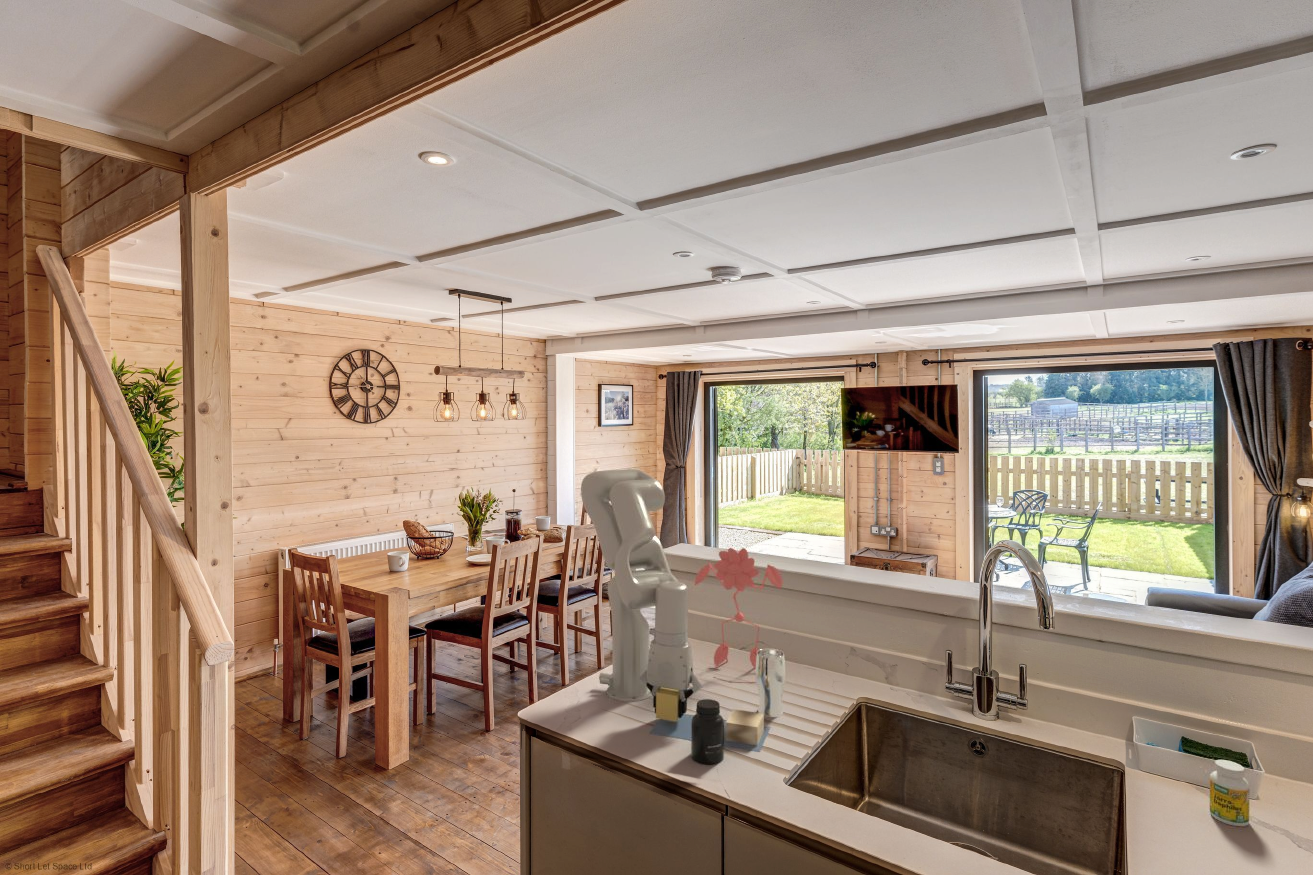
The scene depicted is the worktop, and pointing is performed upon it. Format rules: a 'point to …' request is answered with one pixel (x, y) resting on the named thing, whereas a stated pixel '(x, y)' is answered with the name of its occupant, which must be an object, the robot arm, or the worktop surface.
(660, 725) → the board
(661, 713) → the mustard block
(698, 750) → the supplement bottle
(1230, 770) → the supplement bottle
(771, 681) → the beer glass
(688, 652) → the robot arm
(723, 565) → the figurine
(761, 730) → the beech base block
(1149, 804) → the worktop surface
